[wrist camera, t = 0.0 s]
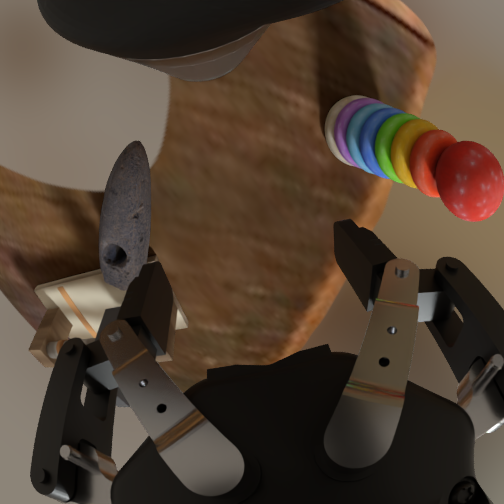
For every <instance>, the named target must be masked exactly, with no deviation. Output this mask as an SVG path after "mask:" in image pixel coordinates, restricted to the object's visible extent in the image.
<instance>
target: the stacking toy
mask: <svg viewBox="0 0 504 504" xmlns="http://www.w3.org/2000/svg"><path fill="white" fill-rule="evenodd" d="M325 137H326V141H327V144H328V146H329V148H330V150H331V151H332V153H333V154H334V155H335V156H336V157H337V158H338V159H339V160H340V161H342V162H343V163H345V164H348V165H351V166H355V167H358V168H361V169H363V170H365V171H367V172H369V173H373V174H376V175H377V176H380V177H382V178H386V179H391V180H393V181H395V182H399V183H404V184H406V185H407V186H409V187H412V188H418V189H419V190H420V191H421V192H422V193H424V194H425V195H427V196H431V197H440V198H441V200H442V201H443V203H444V204H445V206H446V207H447V208H448V209H449V211H451V212H452V213H453V214H454V215H455V216H457V217H459V218H461V219H463V220H466V221H472V222H476V221H481V220H484V219H486V218H488V217H490V216H491V215H492V214H493V213H494V212H495V211H496V210H497V209H498V207H499V205H500V203H501V201H502V199H503V195H504V176H503V172H502V169H501V166H500V164H499V162H498V161H497V159H496V158H495V156H494V155H493V154H492V153H491V152H490V151H489V150H488V149H487V148H485V147H484V146H482V145H481V144H478V143H476V142H472V141H461V142H457V141H456V139H455V138H454V137H453V136H452V135H451V134H449V133H448V132H446V131H443V130H439V129H438V128H437V127H436V126H435V125H433V124H432V123H430V122H428V121H426V120H422V119H420V118H418V117H416V116H414V115H412V114H407V113H405V112H403V111H402V110H399V109H396V108H393V107H391V106H389V105H386V104H384V103H382V102H380V101H378V100H376V99H372V98H368V97H365V96H360V95H354V96H349V97H345V98H343V99H341V100H340V101H338V102H337V103H336V104H335V105H334V106H333V107H332V108H331V109H330V111H329V113H328V115H327V118H326V122H325Z"/></svg>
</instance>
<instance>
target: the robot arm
mask: <svg viewBox="0 0 504 504" xmlns="http://www.w3.org/2000/svg"><path fill="white" fill-rule="evenodd" d="M340 1H343V0H37V2H38V6H39V9H40V12H41V14H42V16H43V18H44V19H45V21H46V22H47V24H48V25H49V26H50V27H51V28H52V29H53V30H54V31H55V32H56V33H58V34H59V35H60V36H62V37H63V38H65V39H67V40H69V41H70V42H72V43H74V44H77V45H79V46H82V47H85V48H87V49H91V50H94V51H98V52H101V53H105V54H109V55H112V56H115V57H119V58H122V59H125V60H129V61H132V62H136V63H139V64H142V65H144V66H147V67H150V68H153V69H156V70H159V71H161V72H164V73H166V74H169V75H172V76H174V77H177V78H179V79H183V80H187V81H207V80H212V79H215V78H219V77H221V76H223V75H225V74H227V73H229V72H230V71H232V70H233V69H234V68H235V67H237V66H238V65H239V64H240V62H241V61H242V60H243V59H244V58H245V56H246V55H247V54H248V53H249V51H250V50H251V49H252V47H253V46H254V45H255V43H256V42H257V41H258V40H259V38H260V37H261V36H262V34H263V33H264V32H265V31H266V29H267V28H268V27H269V26H270V24H271V23H275V22H279V21H283V20H287V19H291V18H295V17H299V16H302V15H306V14H309V13H312V12H315V11H318V10H321V9H324V8H326V7H329V6H331V5H333V4H336V3H338V2H340ZM334 252H335V258H336V261H337V264H338V265H339V267H340V268H341V270H342V272H343V273H344V275H345V276H346V278H347V280H348V281H349V283H350V284H351V286H352V287H353V289H354V291H355V292H356V294H357V296H358V297H359V299H360V301H361V302H362V304H363V306H364V307H365V309H366V311H367V312H368V311H371V310H373V311H372V314H371V317H370V321H369V324H368V328H367V330H366V334H365V337H364V340H363V343H362V346H361V349H360V352H359V354H358V355H355V354H351V353H345V352H331V350H330V348H329V345H328V344H325V345H322V346H318V347H314V348H311V349H306V350H302V351H299V352H296V353H294V354H292V355H290V356H288V357H286V358H284V359H282V360H279V361H277V362H275V363H273V364H270V365H232V366H226V367H220V368H213V369H207V379H204V380H202V381H200V382H198V383H196V384H195V385H193V386H192V387H190V388H189V389H188V390H186V391H185V392H184V393H182V392H181V391H180V389H179V388H178V387H177V386H176V385H175V384H174V382H173V381H172V380H171V379H170V378H169V376H168V375H167V374H166V373H165V372H164V370H163V369H162V368H161V367H160V365H159V364H158V363H157V361H156V356H162V355H166V348H167V341H168V333H169V326H170V320H171V313H172V307H173V300H174V297H173V291H172V288H171V285H170V283H169V281H168V279H167V277H166V274H165V272H164V270H163V268H162V265H161V263H160V262H159V261H156V262H152V263H147V264H144V265H142V268H141V270H140V273H139V276H138V277H135V278H134V279H133V281H132V282H131V283H130V284H129V286H128V289H127V291H126V294H125V297H124V301H123V302H122V305H121V308H120V310H119V313H118V316H117V319H116V320H115V321H113V322H111V323H109V324H108V325H107V326H105V327H104V329H103V330H102V331H101V333H100V337H99V340H97V341H94V342H92V343H89V344H87V345H86V344H85V343H84V342H83V340H82V339H81V338H78V337H75V338H72V339H69V340H68V341H66V342H65V343H64V344H63V346H62V347H61V349H60V351H59V353H58V356H57V359H56V362H55V365H54V368H53V371H52V374H51V378H50V381H49V384H48V387H47V391H46V395H45V398H44V402H43V406H42V410H41V414H40V418H39V423H38V428H37V432H36V438H35V443H34V449H33V456H32V463H31V472H30V477H31V482H32V484H33V486H34V488H35V489H36V490H37V491H38V492H39V493H40V494H43V495H45V496H48V497H50V498H53V499H56V500H57V501H59V502H61V503H64V504H493V502H492V501H491V500H490V499H489V498H488V496H487V495H486V494H485V492H484V491H483V490H482V488H481V487H480V485H479V484H478V482H477V480H476V477H475V471H474V444H475V439H477V438H478V437H480V436H481V435H483V434H484V433H486V432H487V433H490V432H494V431H496V430H497V429H498V428H499V427H501V426H502V425H503V424H504V310H503V308H502V307H501V306H500V305H499V303H498V302H497V301H496V300H495V298H494V297H493V296H492V295H491V294H490V292H489V291H488V290H487V289H486V288H485V287H484V285H483V284H482V283H481V282H480V281H479V280H478V279H477V278H476V276H475V275H474V274H473V273H472V272H471V271H470V270H469V269H468V268H467V267H466V266H465V265H464V264H463V263H462V262H461V261H460V260H458V259H456V258H452V257H443V258H440V259H439V260H438V261H437V264H436V268H435V269H419V268H418V266H417V265H416V264H414V263H413V262H412V261H410V260H407V259H398V258H397V257H396V256H395V255H394V254H393V253H392V252H391V251H390V250H389V249H388V248H387V247H386V245H385V244H383V243H382V241H381V240H380V239H378V237H377V236H376V235H375V234H374V233H373V232H372V231H370V230H368V229H366V228H364V227H360V228H359V227H358V226H357V225H356V224H355V223H354V222H353V221H352V220H351V219H347V220H342V221H337V222H335V223H334ZM454 307H456V308H457V309H458V310H459V312H460V313H461V315H462V317H463V322H462V321H461V319H460V318H459V317H458V315H457V314H456V312H455V311H454ZM423 321H424V322H425V324H426V325H427V327H428V329H429V330H430V332H431V333H432V335H433V337H434V338H435V340H436V342H437V344H438V346H439V347H440V349H441V351H442V353H443V354H444V356H445V358H446V360H447V362H448V363H449V365H450V367H451V369H452V371H453V373H454V375H455V377H456V379H457V380H458V383H459V385H458V387H457V398H458V401H457V404H456V403H454V402H452V401H450V400H448V399H446V398H444V397H442V396H439V395H437V394H435V393H433V392H431V391H429V390H427V389H424V388H423V387H421V386H419V385H416V384H414V383H413V382H411V381H408V375H409V371H410V366H411V361H412V355H413V350H414V344H415V337H416V330H417V323H418V322H423ZM83 384H84V385H85V386H86V387H87V393H86V397H85V403H84V406H83V405H82V403H81V399H80V396H81V391H82V386H83ZM118 387H119V388H120V389H121V391H122V393H123V395H124V396H125V398H126V400H127V401H128V403H129V405H130V406H131V408H132V410H133V411H134V413H135V415H136V416H137V418H138V419H139V421H140V422H141V424H142V425H143V427H144V428H145V430H146V431H147V433H148V434H149V436H148V437H147V439H146V440H145V441H144V442H143V443H142V445H141V446H140V447H139V448H138V450H137V451H136V452H135V453H134V454H133V455H132V457H131V458H130V459H129V460H128V461H127V463H126V464H125V465H124V466H123V467H122V468H121V470H120V471H117V467H116V464H115V462H114V461H113V459H112V458H111V451H112V436H113V425H114V415H115V406H116V398H117V391H118Z"/></svg>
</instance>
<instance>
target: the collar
mask: <svg viewBox="0 0 504 504" xmlns="http://www.w3.org/2000/svg"><path fill="white" fill-rule="evenodd" d="M120 308H121V306H120V307H114V308H108V309H105V312H104V315H103V318H102V320H101V323H100V326H99V329H98V332H97V335H96V338H95V341H97V340H99V337H100V333H101V331H102V330H103V329H104V327H105V326H107V325H108V324H109V323H111V322H113V321H115V320H116V319H117V316H118V313H119V310H120ZM116 406H118V407H130V405H129V403H128V401H127V400H126V398H125V396H124V395H123V393H122V391H121V389H120V388H119V387H118V391H117V398H116Z"/></svg>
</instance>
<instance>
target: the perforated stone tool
mask: <svg viewBox="0 0 504 504" xmlns="http://www.w3.org/2000/svg"><path fill="white" fill-rule="evenodd" d="M150 227H151V180H150V169H149V163H148V158H147V155H146V151H145V149H144V147H143V145H142V144H141V142H140V141H133V142H132V143H130V144H129V145H128V146H127V147H126V148H125V149H124V150H123V152H122V153H121V154H120V156H119V157H118V159H117V161H116V162H115V164H114V167H113V169H112V171H111V174H110V176H109V179H108V181H107V185H106V188H105V193H104V200H103V204H102V209H101V216H100V225H99V261H100V268H101V272H102V274H103V277H104V281H105V282H106V283H107V284H109V285H113V286H114V287H116V288H119V289H120V290H123V291H125V290H126V291H127V289H128V286H129V284H130V283H131V282H132V281H133V279H134V278H135V277H138V276H139V273H140V270H141V268H142V265H144V264H146V263H147V256H148V248H149V239H150Z"/></svg>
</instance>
